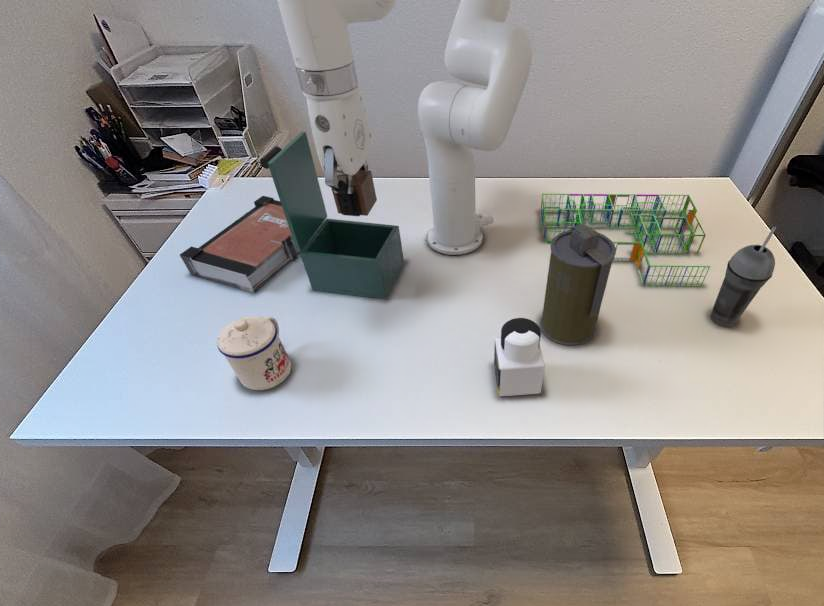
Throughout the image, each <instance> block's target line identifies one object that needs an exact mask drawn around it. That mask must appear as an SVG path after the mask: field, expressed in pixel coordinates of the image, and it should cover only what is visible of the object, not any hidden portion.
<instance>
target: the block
mask: <svg viewBox="0 0 824 606" xmlns="http://www.w3.org/2000/svg"><path fill="white" fill-rule="evenodd" d="M340 170H342V169H341V168H340ZM338 179H339V180H342V181H344V182H345V183H346V177H345V176H338ZM352 181H353V191H356V192H357V196H358V201H359V205H360V209H361V215H360V216H364V217H365V216H366V217H368V215H369V214H370V213H371V211H372V209H373V207H374V206H375V204H376V202H377V193H376V188H375V184H374V177H373V173H372V170H369V169H368V170H359V171H358V172H357V173H356V174H355V175H352ZM330 189H331V192H332V195H333V200H334V203H335V207H336V210H337V214H340V215H342V214H341V210H340V207H339V203H338V199H337V195H336V193H334V191H333V189H332V188H331V187H330Z"/></svg>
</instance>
